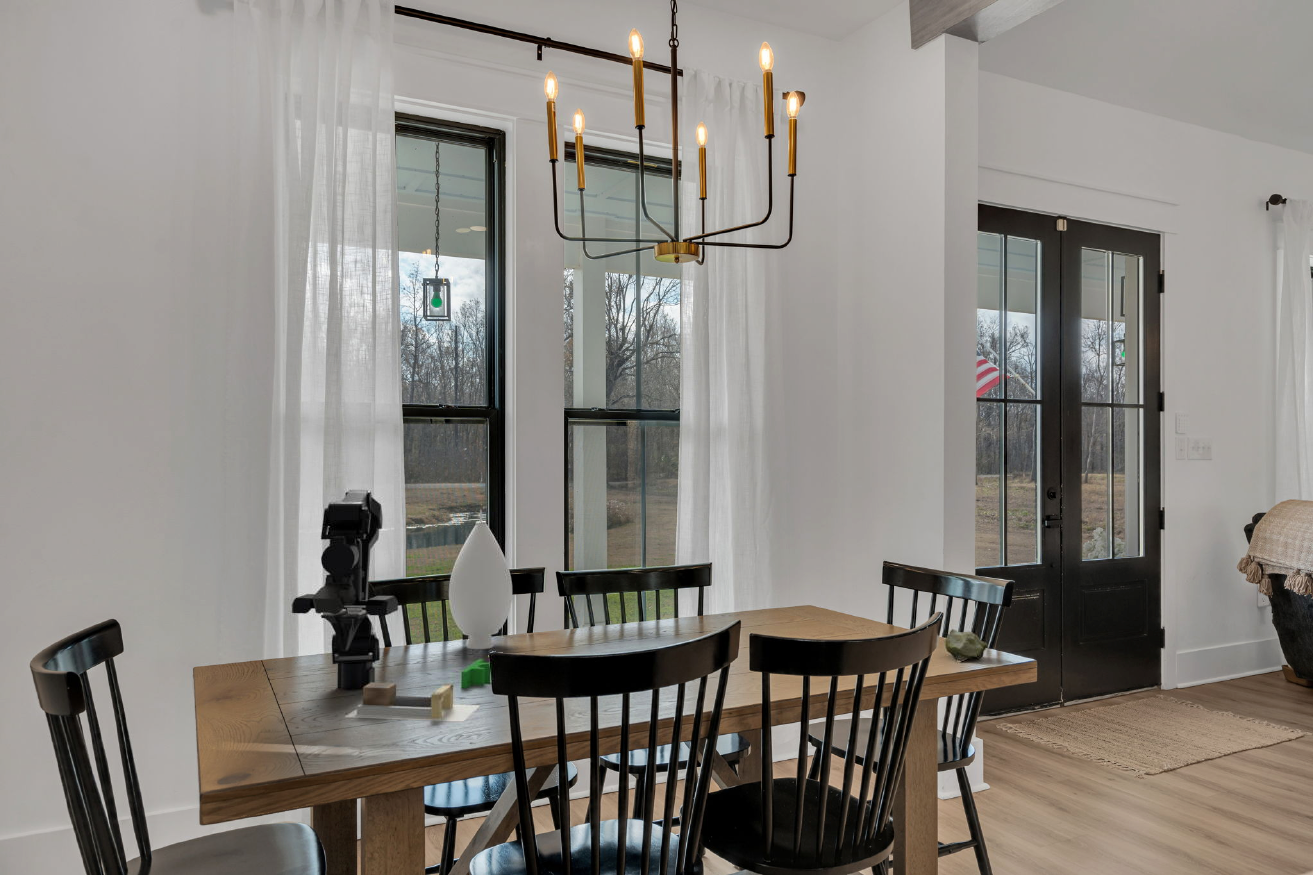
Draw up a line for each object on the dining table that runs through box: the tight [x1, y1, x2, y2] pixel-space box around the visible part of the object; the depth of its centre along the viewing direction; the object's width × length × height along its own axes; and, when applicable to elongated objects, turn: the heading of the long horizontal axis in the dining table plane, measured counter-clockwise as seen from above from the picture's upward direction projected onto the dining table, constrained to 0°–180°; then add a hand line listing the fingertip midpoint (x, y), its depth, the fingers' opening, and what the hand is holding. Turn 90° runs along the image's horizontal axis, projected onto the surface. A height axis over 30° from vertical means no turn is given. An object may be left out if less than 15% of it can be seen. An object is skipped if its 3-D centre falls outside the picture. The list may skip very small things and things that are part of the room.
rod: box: [394, 695, 431, 707], centre depth 162 cm, size 7×3×3 cm, turn 84°
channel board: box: [344, 683, 481, 723], centre depth 163 cm, size 22×10×5 cm, turn 84°
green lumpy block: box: [943, 628, 989, 662], centre depth 211 cm, size 9×9×8 cm
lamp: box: [448, 509, 513, 650], centre depth 221 cm, size 16×16×35 cm
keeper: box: [362, 682, 397, 706], centre depth 163 cm, size 5×3×4 cm
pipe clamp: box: [460, 658, 491, 689], centre depth 184 cm, size 11×4×5 cm, turn 173°
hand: (344, 650), depth 164 cm, fingers closed
